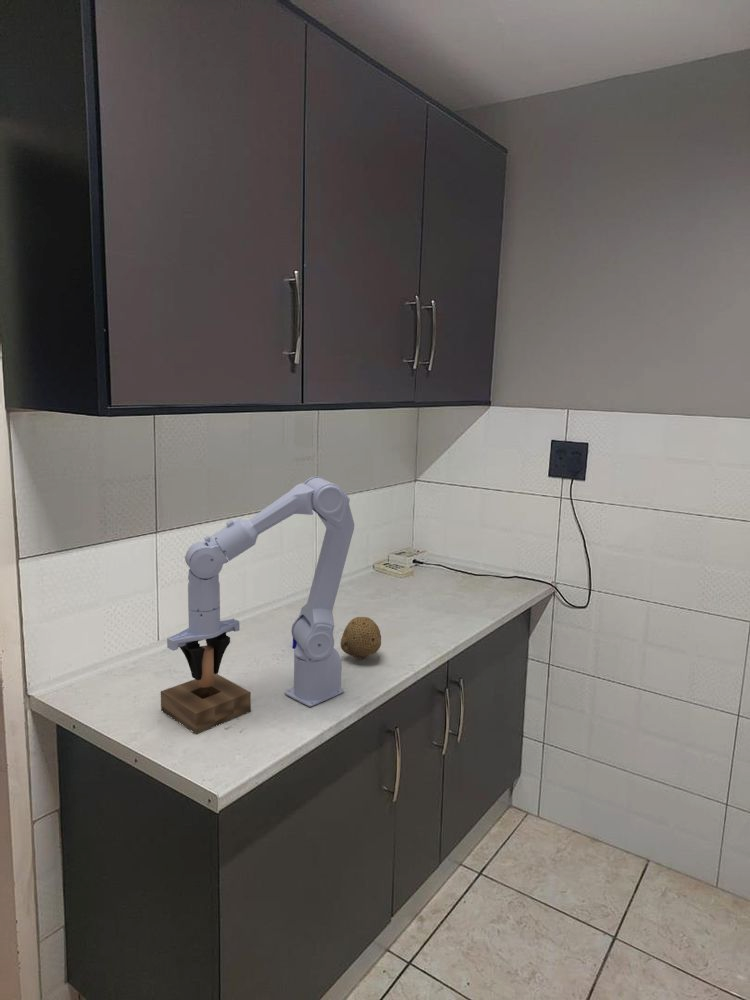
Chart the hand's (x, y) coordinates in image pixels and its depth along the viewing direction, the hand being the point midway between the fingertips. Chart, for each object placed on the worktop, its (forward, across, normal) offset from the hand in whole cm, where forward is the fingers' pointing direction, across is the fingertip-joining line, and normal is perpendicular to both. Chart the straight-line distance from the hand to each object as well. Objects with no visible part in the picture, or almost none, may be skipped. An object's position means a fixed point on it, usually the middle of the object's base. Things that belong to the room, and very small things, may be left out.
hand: (205, 675), depth 129 cm
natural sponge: (+8, -39, +4) cm, 40 cm away
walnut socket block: (+7, 0, 0) cm, 7 cm away
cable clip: (+8, -38, -13) cm, 41 cm away
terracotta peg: (+2, 0, 0) cm, 2 cm away
